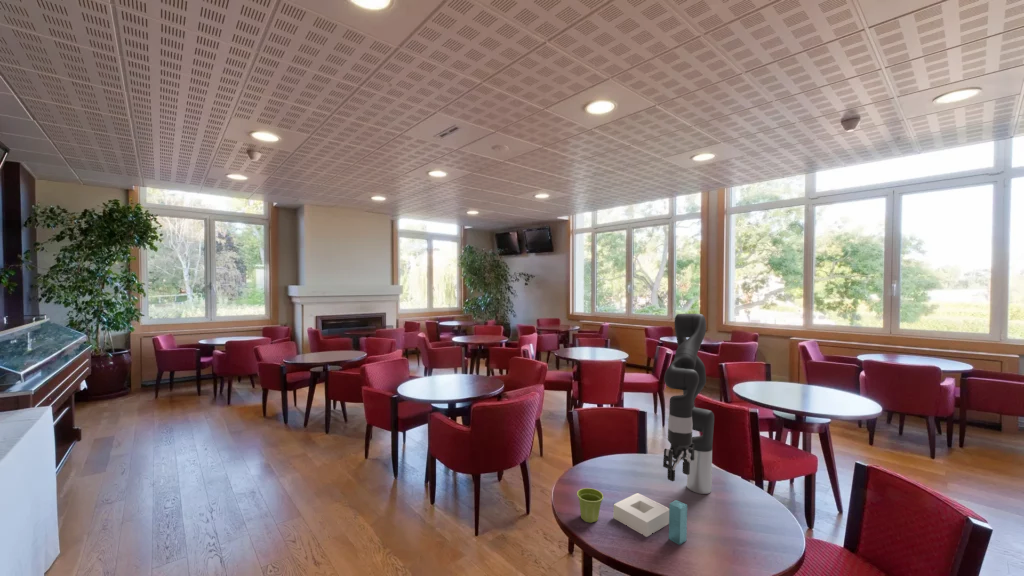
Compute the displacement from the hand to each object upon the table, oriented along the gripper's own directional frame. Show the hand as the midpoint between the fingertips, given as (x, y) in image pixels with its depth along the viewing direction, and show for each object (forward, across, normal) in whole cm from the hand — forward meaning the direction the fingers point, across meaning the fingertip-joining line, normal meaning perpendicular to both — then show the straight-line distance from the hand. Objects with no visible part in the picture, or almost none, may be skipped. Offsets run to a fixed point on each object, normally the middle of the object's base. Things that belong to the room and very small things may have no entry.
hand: (678, 477), depth 141 cm
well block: (+21, 0, -14) cm, 25 cm away
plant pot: (+21, +15, -25) cm, 36 cm away
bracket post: (+21, 0, 0) cm, 21 cm away
